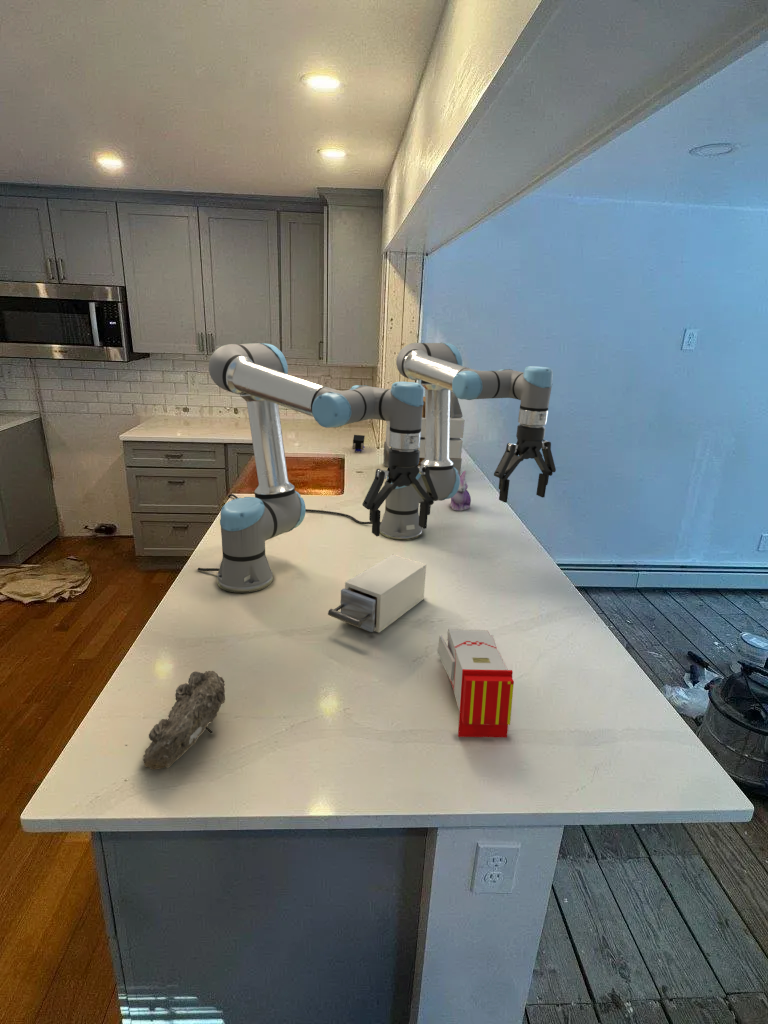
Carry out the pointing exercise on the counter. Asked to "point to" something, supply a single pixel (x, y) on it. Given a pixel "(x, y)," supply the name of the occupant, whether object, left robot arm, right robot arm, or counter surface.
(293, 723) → the counter surface
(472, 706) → the white and red box
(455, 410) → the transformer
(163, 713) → the counter surface
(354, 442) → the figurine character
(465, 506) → the figurine
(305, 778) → the counter surface
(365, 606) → the drawer
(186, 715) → the fossil
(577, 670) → the counter surface
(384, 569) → the cabinet
